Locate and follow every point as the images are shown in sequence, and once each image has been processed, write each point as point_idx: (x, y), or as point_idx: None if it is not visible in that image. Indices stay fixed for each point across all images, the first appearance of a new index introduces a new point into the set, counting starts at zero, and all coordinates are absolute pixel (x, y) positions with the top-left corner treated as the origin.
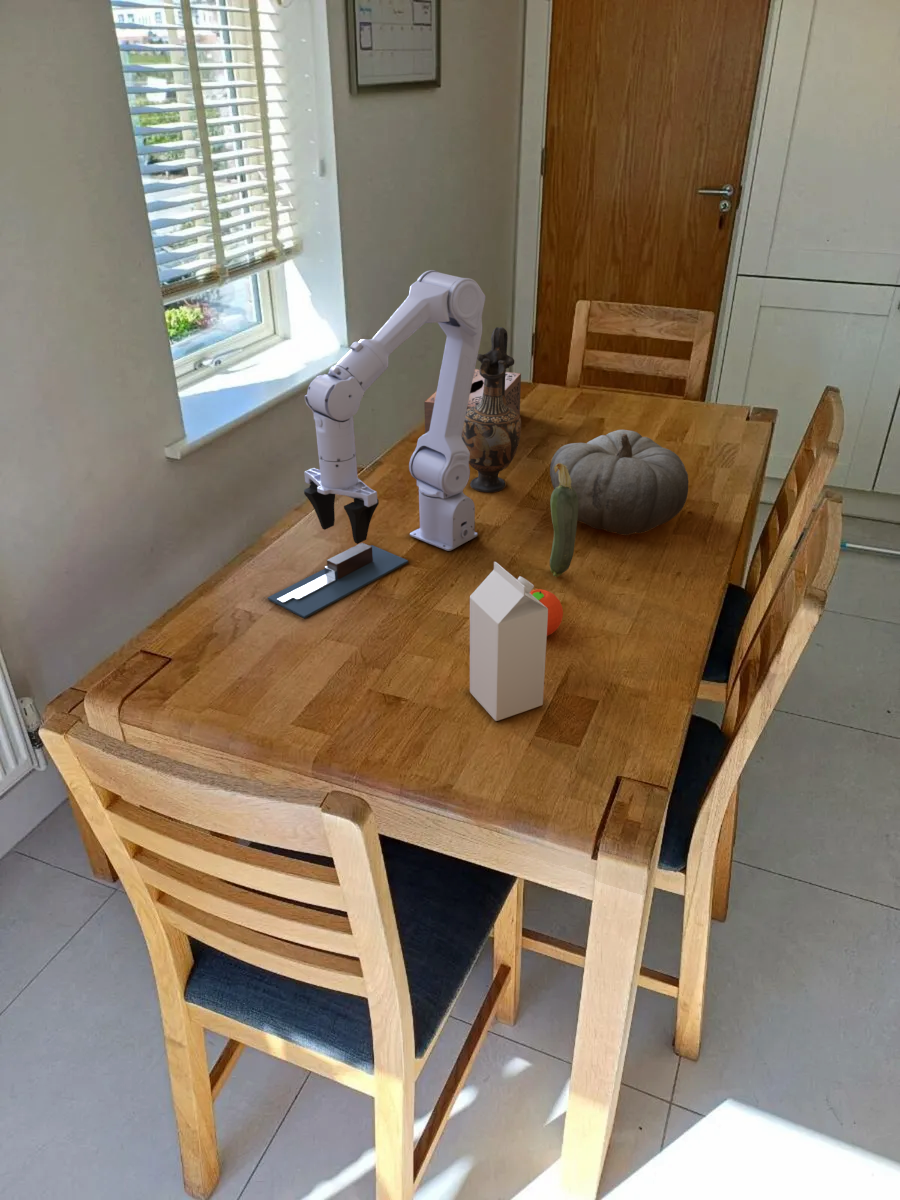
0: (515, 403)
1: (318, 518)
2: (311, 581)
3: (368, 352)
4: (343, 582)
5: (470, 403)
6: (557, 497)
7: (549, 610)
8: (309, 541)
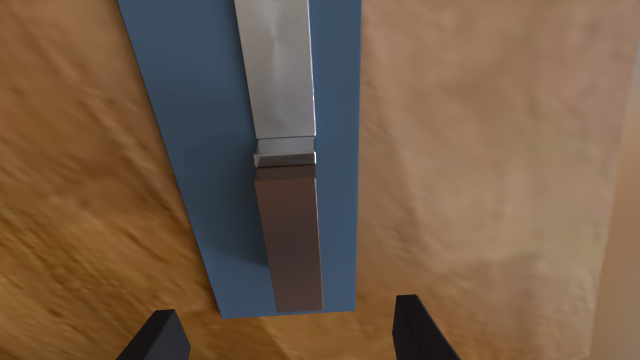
0: None
1: (447, 345)
2: (311, 67)
3: None
4: (231, 148)
5: None
6: None
7: None
8: (529, 232)
